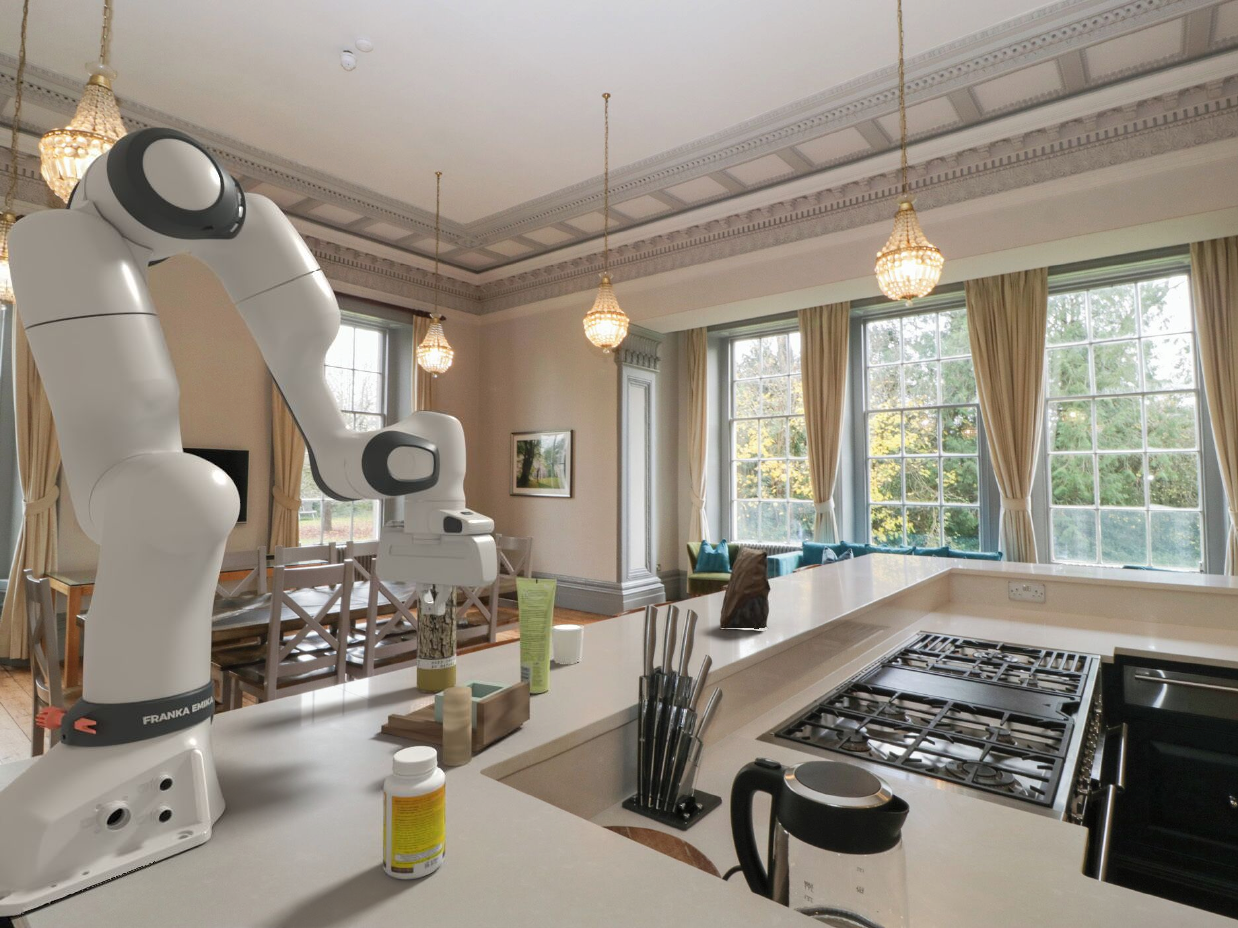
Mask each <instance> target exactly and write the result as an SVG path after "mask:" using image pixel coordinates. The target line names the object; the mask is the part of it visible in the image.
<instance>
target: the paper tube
mask: <svg viewBox="0 0 1238 928" xmlns="http://www.w3.org/2000/svg"><path fill="white" fill-rule="evenodd" d="M457 588H458V586H453V585H452V592H451V594H450V596H449V598H448V600H447V601H446V604H445V614H443V615H429V614H423V613H422V602H421V600H420V598H419V596H418V594H417V593H416V595H417V596H416V688H417V689H418V690H419V691H420V692H422V693H423V692H424V693H440V692H442V691H443V690H445V689H446V688H449V687H454V686H456V685H457V600H458V599H457V597H458V596H457V595H458V594H457V592H458V591H457V590H458V589H457ZM430 592H431V595H432V598H433V600H434V601H435V600H436V598H437V595H438V593H439V592H436V584H433V588H432V589H430Z"/></svg>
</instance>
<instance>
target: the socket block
mask: <svg viewBox="0 0 1238 928" xmlns="http://www.w3.org/2000/svg"><path fill="white" fill-rule="evenodd" d="M513 685H514V684H506V683H500V682H491V681H486V680H478V679H472V678H471V679H469V680H466V681H464V682H462V683H460V684H458V685H457V684H456V685H455V686H467V687H470V688H471V689H472V718H471V728H474V729H477V702H479V701H481V700H483V699H485V698H487V697H489V696H491V695H494V694H496V693H498V692H500V691H502V690H504V689H506V688H509V687H511V686H513ZM455 686H454V687H455ZM434 703H435V713H434V721H435V722H441V723H443V691H441V692H436V694H434Z"/></svg>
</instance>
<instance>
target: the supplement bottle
mask: <svg viewBox="0 0 1238 928" xmlns="http://www.w3.org/2000/svg"><path fill="white" fill-rule="evenodd" d="M437 755H438V752H437V750H436V749H435V748H434V747H432V746H425V745H417V746H416V745H415V746H410V747H406V748H403V749H401V750H398V751H397V752H395V753H394V755H393V756H392V766H391V767H392V769H391V770H392V772H391V773H390V774H389V775H388V776H387V777H386V778H385V779H384V782H383V790H382V791H383V794H382V795H383V796H382V797H383V800H382V801H383V803H382V805H383V806H382V807H383V809H382V814H383V815H382V817H383V819H382V820H383V821H382V822H383V823H382V830H383V831H382V864H383V865H382V866H383V869H384V871H385V873H386V874H387V875H389V877H390V876H391V877H392V878H394V879H399V880H414V879H419V878H422V877H425V876H426V875H427V876H428V875H430V874H431V873H433V872H435V871H436V870H437V869H439V868H440V866H441V865H443V862H444V860H445V857H446V774H445V772H444V771H443V770H442V769H441V768H440V767H438V761H437V760H438V759H437V757H438V756H437Z"/></svg>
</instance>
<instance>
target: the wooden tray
mask: <svg viewBox="0 0 1238 928" xmlns="http://www.w3.org/2000/svg"><path fill="white" fill-rule="evenodd" d="M512 685H513V686H511V687H509V688H506V689H504V690H502V691H500V692H498V693H496V694H494V695H491V696H489V697H487V698H485V699H483V700H481V701H479V702H477V729H474V728H471V752H478V751H481V750H482V749H484V748H485V747H486V746H488V745H491V744H492V743H494V742H495V741H497V740H499V739H501V738H502V737H504V736H506V735H508V734H509V733H511V732H513V731H515V730H516V729H518V728H521V727H522V726H523V725H524V723H525V722H527V721H530V719H531V711H530V710H531V706H530V705H531V693H530V682H529V681H521V680H520V681H519V682H517V683H514V684H512ZM434 713H435V702H432V703H431V704H428V705H426V706H424V707H420V708H419V709H417V710H415V711H412V712H410V713H407V714H405V715H403V714H402V715H401V714H396V713H392V714H390V715H388V716H387V723H384V724H382V725H380V727H381V728H380V731H381V732H380V733H382V734H387V735H392V736H397V737H402V738H407V739H413V740H415V741H416V740H417V741H422V742H427V743H432V744H438V745H441V746H443V723H441V722H435V721H434Z"/></svg>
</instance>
